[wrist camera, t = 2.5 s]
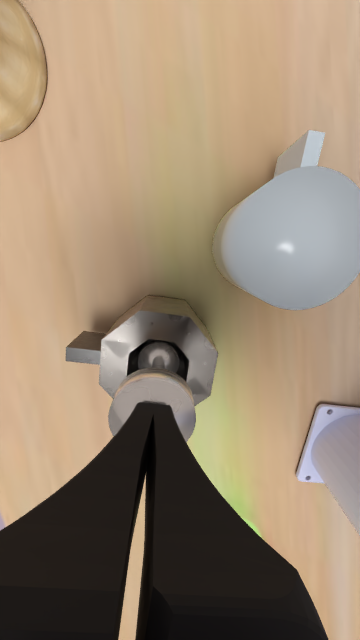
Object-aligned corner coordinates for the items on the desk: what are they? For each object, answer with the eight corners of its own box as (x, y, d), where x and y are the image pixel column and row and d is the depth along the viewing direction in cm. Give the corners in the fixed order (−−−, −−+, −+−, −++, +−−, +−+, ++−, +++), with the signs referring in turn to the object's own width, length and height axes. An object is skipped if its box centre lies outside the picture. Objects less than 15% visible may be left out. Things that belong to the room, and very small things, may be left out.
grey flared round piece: (190, 335, 16) (201, 385, 10) (182, 386, 17) (189, 459, 11) (133, 328, 16) (111, 376, 10) (129, 380, 17) (105, 452, 11)
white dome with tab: (316, 176, 18) (407, 129, 11) (287, 294, 20) (348, 317, 13) (225, 161, 17) (261, 102, 10) (205, 283, 19) (224, 301, 12)
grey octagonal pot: (210, 303, 20) (224, 320, 15) (197, 382, 21) (204, 423, 16) (91, 287, 19) (62, 300, 14) (87, 370, 21) (60, 409, 16)
